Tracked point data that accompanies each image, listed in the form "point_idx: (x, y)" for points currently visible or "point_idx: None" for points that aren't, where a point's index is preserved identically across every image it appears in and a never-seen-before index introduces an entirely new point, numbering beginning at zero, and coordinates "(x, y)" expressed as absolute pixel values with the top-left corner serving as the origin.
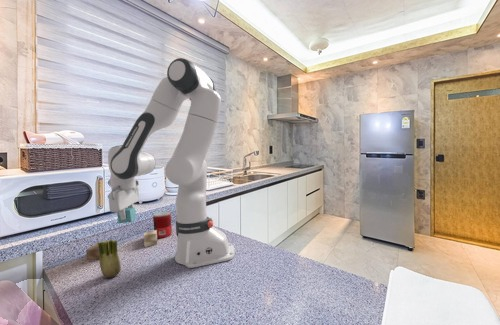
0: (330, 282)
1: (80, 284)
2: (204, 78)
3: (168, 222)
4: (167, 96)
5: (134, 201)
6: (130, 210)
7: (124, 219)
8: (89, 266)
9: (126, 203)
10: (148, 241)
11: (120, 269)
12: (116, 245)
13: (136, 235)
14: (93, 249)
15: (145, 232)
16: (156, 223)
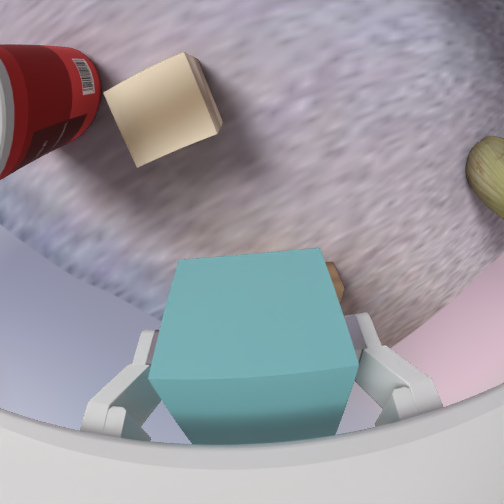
0: None
1: (485, 232)
2: None
3: (24, 45)
4: None
5: (74, 452)
6: (340, 356)
7: (364, 315)
8: (385, 278)
9: (428, 473)
10: (212, 102)
11: (491, 136)
12: None
13: (69, 253)
14: None
15: (149, 153)
16: (49, 118)
